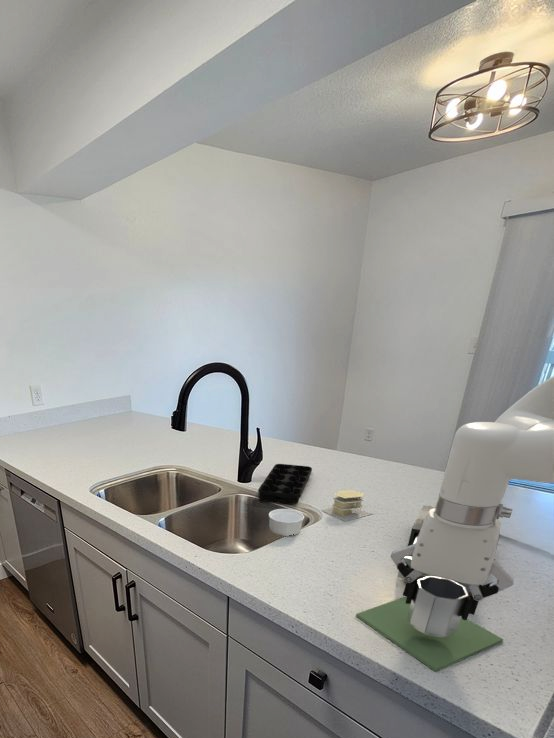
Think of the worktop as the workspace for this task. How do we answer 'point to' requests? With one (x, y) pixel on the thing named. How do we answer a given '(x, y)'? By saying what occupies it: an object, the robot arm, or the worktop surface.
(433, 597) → the cup
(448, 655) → the mat
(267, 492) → the egg carton
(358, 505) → the stacked layers on plate
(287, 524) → the ramekin
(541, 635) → the worktop surface
